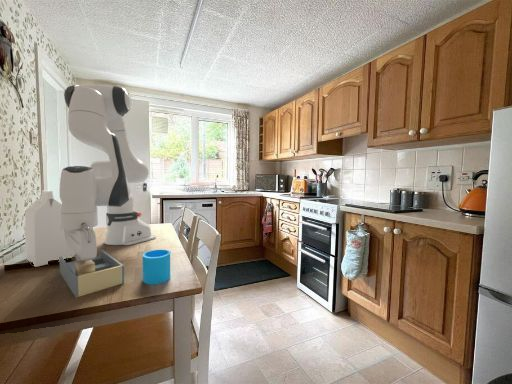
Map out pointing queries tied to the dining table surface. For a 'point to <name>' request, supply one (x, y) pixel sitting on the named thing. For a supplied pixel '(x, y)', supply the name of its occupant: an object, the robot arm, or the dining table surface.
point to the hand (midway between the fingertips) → (81, 266)
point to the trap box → (93, 275)
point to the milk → (45, 231)
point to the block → (84, 267)
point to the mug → (156, 266)
